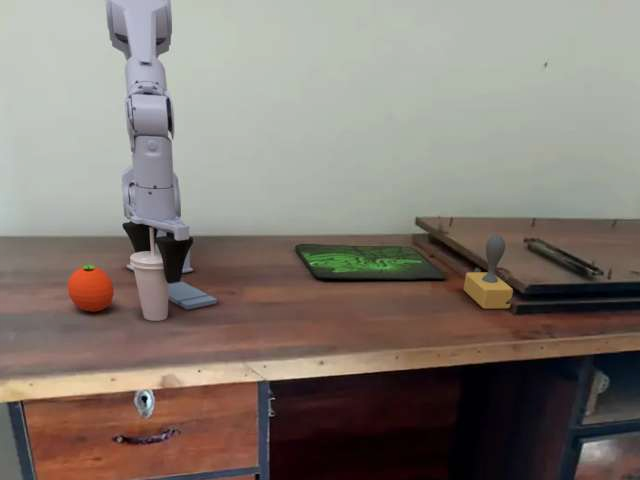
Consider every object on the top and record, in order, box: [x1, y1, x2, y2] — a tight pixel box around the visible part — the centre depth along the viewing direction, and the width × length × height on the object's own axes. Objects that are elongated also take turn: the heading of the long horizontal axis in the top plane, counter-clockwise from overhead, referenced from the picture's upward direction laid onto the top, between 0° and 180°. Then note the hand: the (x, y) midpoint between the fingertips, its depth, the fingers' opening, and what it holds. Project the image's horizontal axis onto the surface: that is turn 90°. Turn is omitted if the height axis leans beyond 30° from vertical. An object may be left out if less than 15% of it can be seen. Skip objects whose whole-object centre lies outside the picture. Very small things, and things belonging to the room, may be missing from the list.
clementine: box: [67, 264, 115, 313], centre depth 124 cm, size 8×7×7 cm
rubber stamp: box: [463, 234, 514, 309], centre depth 144 cm, size 10×6×12 cm, turn 16°
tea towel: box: [168, 280, 218, 311], centre depth 134 cm, size 6×13×1 cm, turn 45°
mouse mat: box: [294, 243, 446, 281], centre depth 159 cm, size 27×22×1 cm
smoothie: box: [129, 227, 169, 322], centre depth 121 cm, size 6×6×14 cm
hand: (160, 275), depth 123 cm, fingers open, 7 cm apart
